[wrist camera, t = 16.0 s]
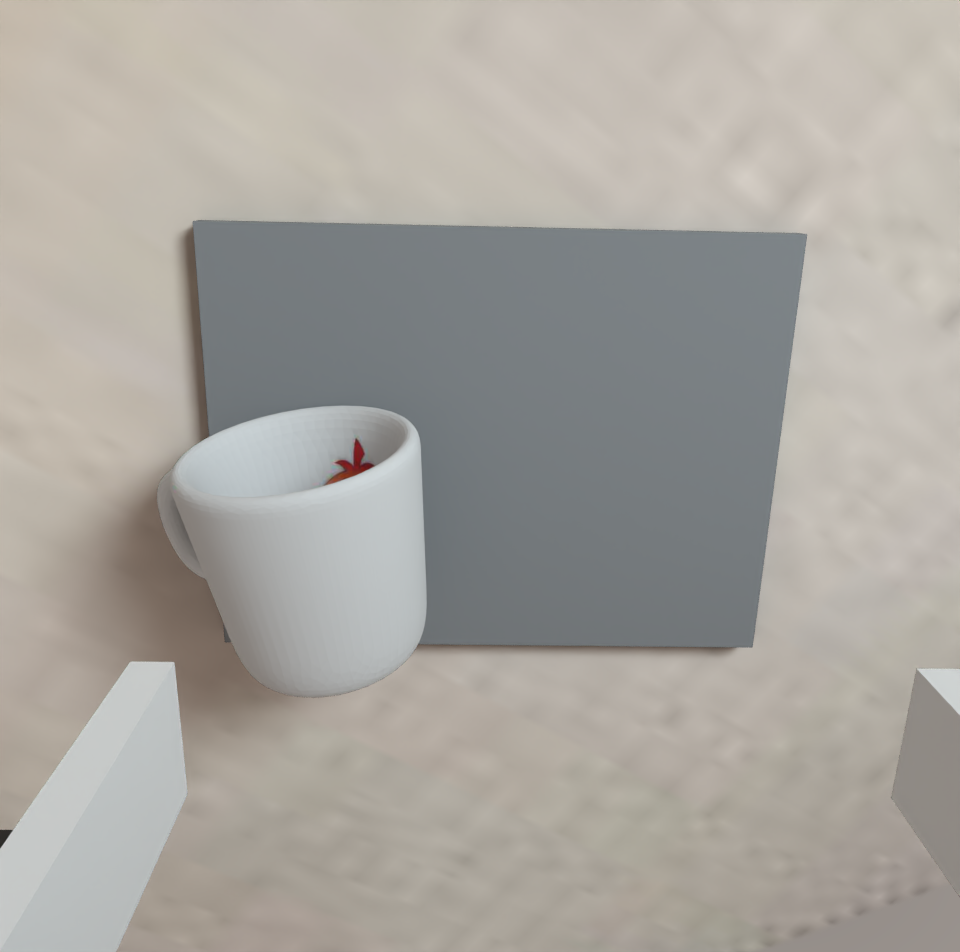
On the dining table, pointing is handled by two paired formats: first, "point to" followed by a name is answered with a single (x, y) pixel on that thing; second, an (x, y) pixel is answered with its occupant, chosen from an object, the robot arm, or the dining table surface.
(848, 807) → the dining table surface
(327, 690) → the cup
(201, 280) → the mat
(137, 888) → the robot arm
